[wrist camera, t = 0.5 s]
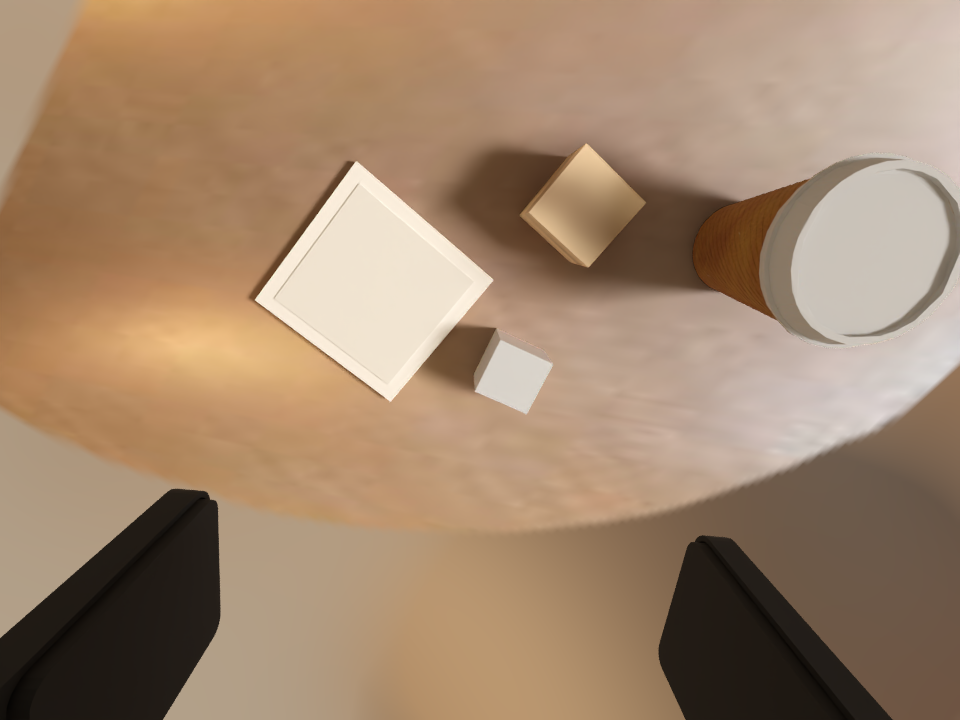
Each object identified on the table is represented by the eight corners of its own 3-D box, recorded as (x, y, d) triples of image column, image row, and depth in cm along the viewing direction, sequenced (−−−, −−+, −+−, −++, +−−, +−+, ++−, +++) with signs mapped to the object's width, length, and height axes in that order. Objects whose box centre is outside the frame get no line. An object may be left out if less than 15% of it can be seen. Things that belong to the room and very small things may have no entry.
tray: (358, 162, 31) (355, 160, 30) (493, 278, 33) (493, 280, 32) (258, 298, 33) (254, 300, 32) (391, 398, 35) (390, 402, 35)
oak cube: (567, 157, 31) (586, 143, 26) (618, 207, 32) (646, 202, 27) (518, 215, 32) (528, 212, 27) (570, 262, 33) (588, 267, 28)
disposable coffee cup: (730, 338, 35) (863, 391, 23) (643, 258, 33) (739, 272, 21) (826, 238, 33) (1021, 242, 22) (739, 148, 31) (901, 98, 20)
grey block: (496, 327, 34) (500, 339, 30) (543, 349, 35) (553, 364, 31) (473, 374, 35) (474, 391, 31) (519, 394, 36) (526, 414, 32)
